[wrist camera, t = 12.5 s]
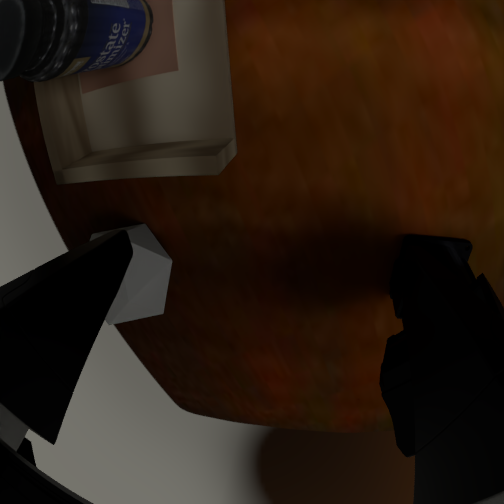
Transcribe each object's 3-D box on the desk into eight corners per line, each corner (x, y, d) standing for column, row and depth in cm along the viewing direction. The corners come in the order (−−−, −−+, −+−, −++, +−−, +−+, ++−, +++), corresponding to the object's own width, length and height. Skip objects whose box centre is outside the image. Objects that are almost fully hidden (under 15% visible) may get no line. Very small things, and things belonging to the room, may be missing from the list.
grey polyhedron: (99, 212, 27) (65, 303, 25) (114, 193, 21) (67, 316, 18) (167, 244, 32) (138, 329, 29) (203, 237, 25) (166, 349, 22)
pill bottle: (122, 81, 18) (3, 120, 9) (79, 41, 16) (-36, 64, 8) (173, 18, 15) (52, 7, 6) (122, -20, 13) (4, -33, 4)
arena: (220, -54, 12) (196, -75, 8) (237, 153, 21) (218, 174, 17) (64, 2, 14) (27, 3, 11) (88, 164, 24) (56, 184, 20)
